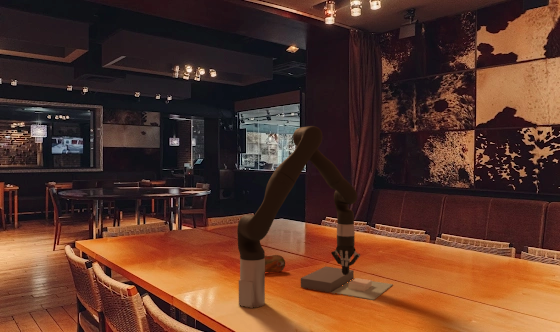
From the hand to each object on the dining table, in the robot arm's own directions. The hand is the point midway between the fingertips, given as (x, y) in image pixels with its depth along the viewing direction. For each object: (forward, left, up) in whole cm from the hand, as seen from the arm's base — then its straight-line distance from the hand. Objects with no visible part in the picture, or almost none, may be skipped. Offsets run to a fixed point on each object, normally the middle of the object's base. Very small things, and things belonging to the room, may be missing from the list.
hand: (345, 274), depth 183 cm
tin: (+2, +40, -5) cm, 41 cm away
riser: (0, +8, -5) cm, 10 cm away
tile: (0, -7, -2) cm, 7 cm away
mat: (0, -8, -5) cm, 9 cm away
